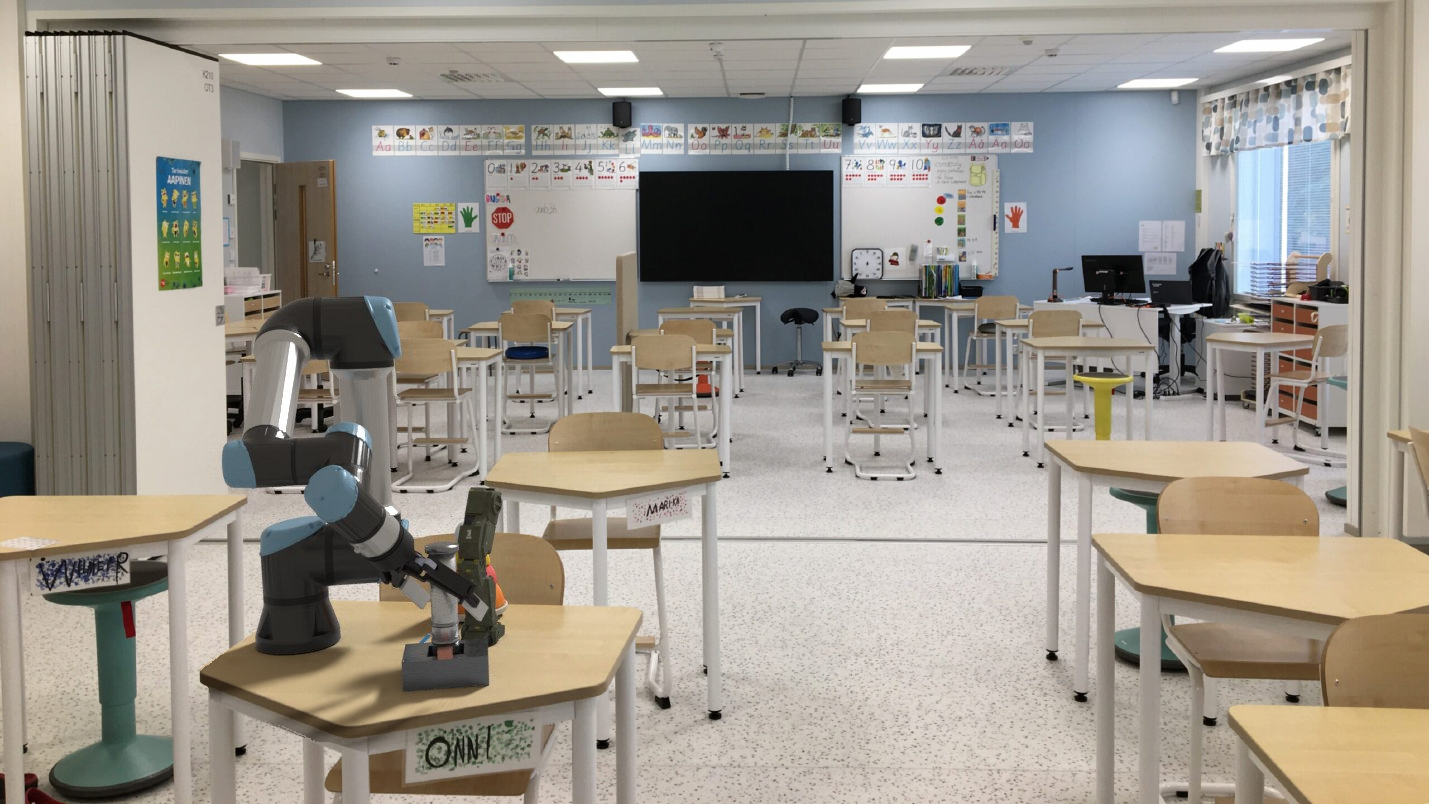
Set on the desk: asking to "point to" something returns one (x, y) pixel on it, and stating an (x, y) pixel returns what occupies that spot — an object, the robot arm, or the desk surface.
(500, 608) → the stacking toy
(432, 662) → the stand
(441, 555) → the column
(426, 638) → the pencil
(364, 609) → the desk surface
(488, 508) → the mechanical leg
